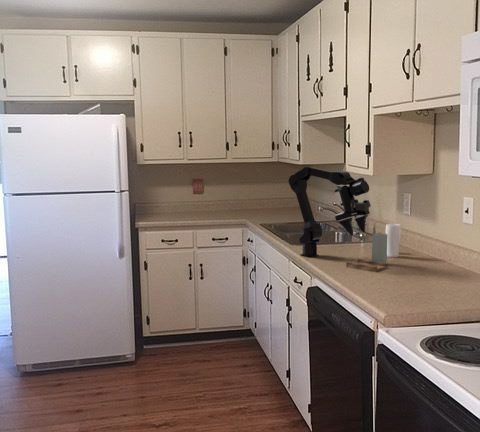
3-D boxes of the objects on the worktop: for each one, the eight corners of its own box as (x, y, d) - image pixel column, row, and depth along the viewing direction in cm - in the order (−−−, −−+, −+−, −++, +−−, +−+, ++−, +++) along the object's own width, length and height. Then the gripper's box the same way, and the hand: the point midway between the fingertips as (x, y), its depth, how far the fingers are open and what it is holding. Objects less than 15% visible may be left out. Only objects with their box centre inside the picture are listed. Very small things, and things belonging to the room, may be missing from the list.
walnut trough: (346, 266, 233) (346, 262, 233) (358, 263, 240) (358, 258, 240) (375, 272, 224) (375, 267, 223) (387, 267, 231) (387, 263, 230)
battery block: (371, 264, 238) (372, 232, 237) (375, 262, 243) (376, 231, 241) (382, 265, 236) (383, 233, 234) (386, 263, 240) (387, 232, 238)
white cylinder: (388, 254, 259) (389, 223, 257) (402, 256, 255) (403, 224, 253) (382, 256, 254) (383, 224, 252) (396, 258, 250) (397, 226, 248)
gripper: (350, 195, 227) (361, 231, 225) (374, 192, 240) (384, 226, 238) (329, 202, 235) (339, 237, 233) (354, 199, 248) (363, 232, 246)
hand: (357, 233), depth 237 cm, fingers open, 9 cm apart
